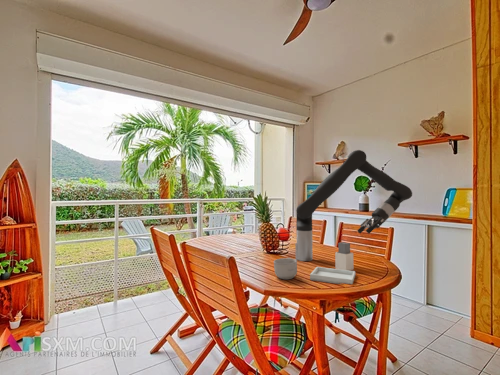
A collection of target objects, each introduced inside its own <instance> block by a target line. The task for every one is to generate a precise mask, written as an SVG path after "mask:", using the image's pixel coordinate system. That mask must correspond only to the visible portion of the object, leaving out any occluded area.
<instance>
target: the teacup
mask: <svg viewBox="0 0 500 375" xmlns="http://www.w3.org/2000/svg"><path fill="white" fill-rule="evenodd" d="M273 269H274V274H275V275H276V277H278V279H281V280H291V279H294V277H295V276H296V275H297V273H298V260H297V259H296V258H291V257H285V258H283V257H282V258H277V259H274V260H273Z"/></svg>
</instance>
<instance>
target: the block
mask: <svg viewBox="0 0 500 375" xmlns="http://www.w3.org/2000/svg"><path fill="white" fill-rule="evenodd" d="M337 244H338V251H337V252H339V253H342V254H349V253H350V252H351V243H350V242H346V241H342V242H338V243H337Z"/></svg>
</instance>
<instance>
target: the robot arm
mask: <svg viewBox="0 0 500 375" xmlns="http://www.w3.org/2000/svg"><path fill="white" fill-rule="evenodd" d="M356 170H359V171H360V172H361V173H363V174H364V175H366V176H367V177H369V178H370V179H371V180H372V181H374V182H375V183H377V185H379V186H381V188H383V189H384V190H385V191H389V192H392V193H391V194H390V195H389V197H388V198H387V199H386V200H385V201H384V202H383V203H381V204H380V205H379V206H377V208H376V209H375V210H374V211H372V213H371V217H370V218H367V219H365V220H364V221H363V222H362V223H361V224H360V227H359V228H358V229H357V230H356V232H357V233H358V234H362V233H363V232H364V231H365V232H366V233H367V234H370V233H371V232H372V231H374V230H375V229H379V228H380V227H381V226H382V225H383V224H384V223H385V222H386V221H387V220H388V219H389V218H390V217H392V215H393V213H394V212H396V210H398V209H399V207H400V205H401V203H403V202H405V201H407V200H409V199H410V198H411V197H412V196H413V190H412V189H410V187H408V186H407V185H405V184H403V183H401V182H399V181H396V180H395V179H394V178H392V177H391V176H390V175H389V174H387V173H386V172H385V171H382V170H381V169H379V168H377V167H376V166H374V165H372V164H371V163H369V162H368V160H367V154H366V153H365V151H364V150H360V149H356V150H353V151H351V152H350V153H349V154H348V156H347V158H346V159H345V161H344V162H343V163H342V164H341V165H340V166H339V167H338V168H336V169H334V171H332V172H331V173H329V175H328V176H326V177H325V178H324V180H322V181H321V183H320V184H318V186H317V187H316V189H315V190H314V191H313V192H312V194H311V195H310V196H309V197H307V199H305V200H304V201H303V202H301V203H299V204H298V205H297V206H296V210H295V211H296V213H295V214H296V225H295V226H296V242H295V247H294V248H295V260H297V261H301V262H310V261H311V262H312V261H313V215H314V212H315V211H316V210H317V208H319V206H321V205H322V203H324V202H325V201H326V200H328V199H329V198H330V197H331V196H332V195H333V194H334V193H336V192H337V191H338V190H339V189H340V188H341V186H343V184H344V183H345V182H346V180H347V179H349V177H350V176H351V175H352V174H353V173H354V172H355V171H356Z"/></svg>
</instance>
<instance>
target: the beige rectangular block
mask: <svg viewBox="0 0 500 375" xmlns="http://www.w3.org/2000/svg"><path fill="white" fill-rule="evenodd" d="M334 254H335V255H334V256H335V257H334V258H335V259H334V260H335V265H334V266H335V268H334V269H340V270H349V271H354V252H351V251H350V253H349V254H342V253H339V252H338V251H335V253H334Z"/></svg>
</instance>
